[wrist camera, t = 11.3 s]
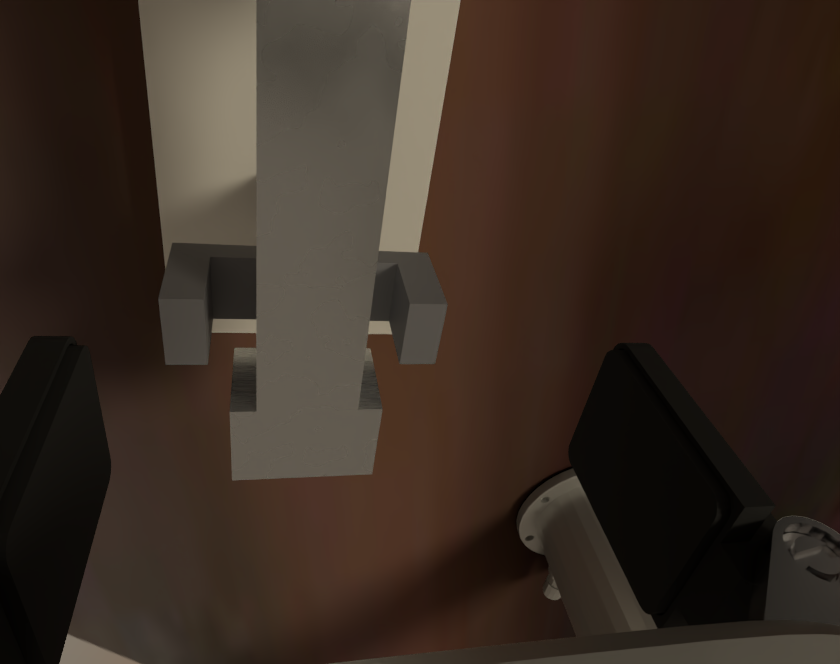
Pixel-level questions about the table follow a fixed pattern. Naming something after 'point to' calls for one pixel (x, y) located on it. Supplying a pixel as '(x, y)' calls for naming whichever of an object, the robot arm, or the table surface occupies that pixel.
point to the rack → (236, 174)
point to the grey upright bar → (317, 235)
